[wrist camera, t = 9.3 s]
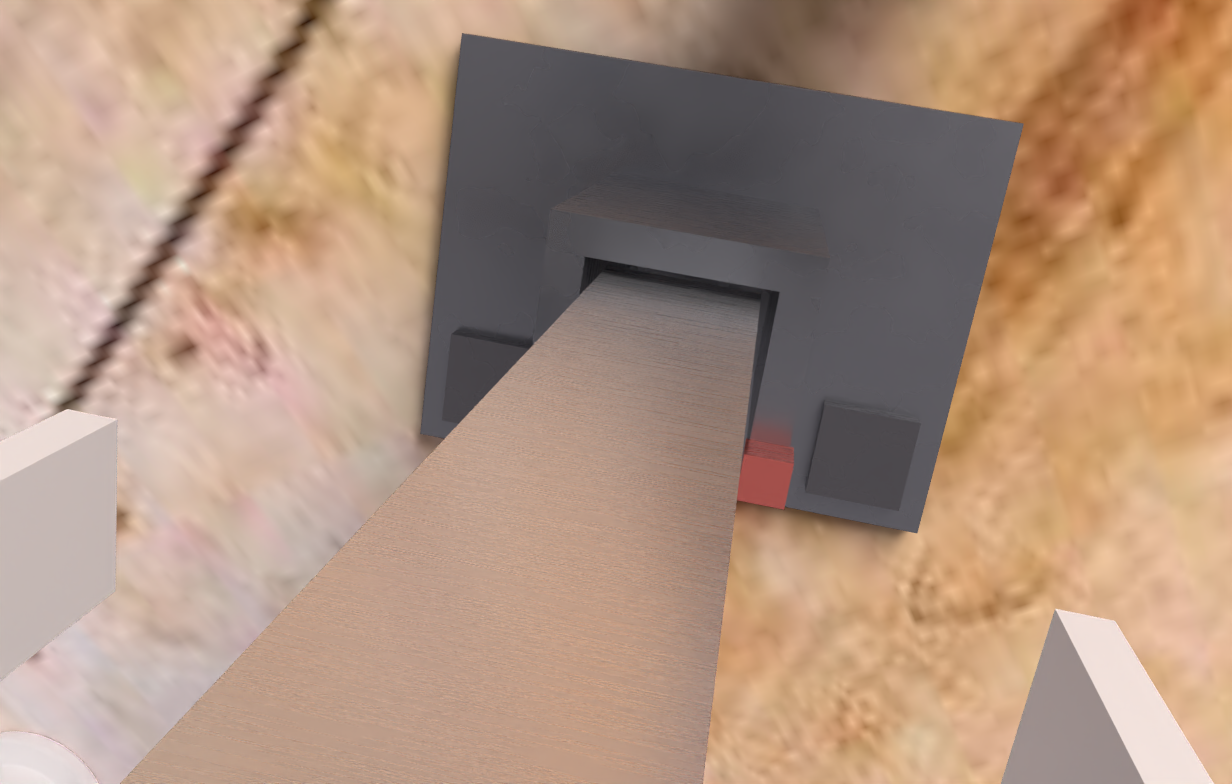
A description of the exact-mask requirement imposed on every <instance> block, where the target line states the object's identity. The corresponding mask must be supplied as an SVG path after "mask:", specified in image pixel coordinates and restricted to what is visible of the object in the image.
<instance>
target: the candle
mask: <svg viewBox="0 0 1232 784" xmlns="http://www.w3.org/2000/svg"><path fill="white" fill-rule="evenodd" d="M0 784H99V783H98V781H97V779H96V778H95V776H94V775H93V773H92V772H91V770H90V769H89V768H88V767H87V766H86V764H85V763H84V762H83V761H82V760H81V759H80V758H79V757H78V756H76V755H75V754H74V753H73V752H71V751H70V750H69V749H67V748H66V747H64V746H63V745H61V744H60V743H58V742H56V741H54V740H52V739H49V738H47V737H44V736H41V735H38V734H34V733H30V732H22V731H8V732H2V733H0Z"/></svg>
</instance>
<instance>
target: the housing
mask: <svg viewBox="0 0 1232 784" xmlns="http://www.w3.org/2000/svg"><path fill="white" fill-rule="evenodd" d="M1022 128H1023V124H1022V123H1017V122H1011V121H1005V120H999V119H992V118H986V117H980V116H974V115H968V114H961V113H955V112H949V111H943V110H937V109H930V108H924V107H918V106H912V105H906V104H899V103H893V102H887V101H881V100H875V99H868V98H862V97H856V96H850V95H844V94H837V93H831V92H825V91H819V90H813V89H806V88H800V87H794V86H788V85H782V84H775V83H769V82H763V81H757V80H751V79H744V78H738V77H732V76H726V75H720V74H713V73H707V72H701V71H695V70H689V69H682V68H676V67H670V66H664V65H658V64H651V63H645V62H639V61H633V60H627V59H620V58H614V57H608V56H602V55H596V54H589V53H583V52H577V51H571V50H565V49H558V48H552V47H546V46H540V45H534V44H527V43H521V42H515V41H509V40H503V39H496V38H490V37H484V36H478V35H472V34H464V33H462V39H461V48H460V58H459V67H458V77H457V87H456V96H455V106H454V116H453V125H452V135H451V145H450V154H449V164H448V173H447V183H446V193H445V202H444V212H443V222H442V231H441V241H440V250H439V260H438V270H437V279H436V289H435V299H434V308H433V318H432V328H431V337H430V347H429V356H428V366H427V376H426V385H425V395H424V405H423V414H422V424H421V433H420V434H425V435H430V436H435V437H440V438H446V437H447V436H448V435H449V434H450V433H451V432H452V430H453V429H454V428H455V427H456V426H457V425H458V424H459V423H460V422H461V421H462V420H463V419H464V418H465V417H466V416H467V415H468V414H469V412H470V411H471V410H472V409H473V408H474V407H475V406H476V405H477V404H478V403H479V402H480V401H481V400H482V399H483V398H484V397H485V395H486V394H487V393H488V392H489V391H490V390H491V389H492V388H493V387H494V386H495V385H496V384H497V383H498V382H499V381H500V380H501V378H502V377H503V376H504V375H505V374H506V373H507V372H508V371H509V370H510V369H511V368H512V367H513V366H514V365H515V364H516V363H517V361H518V360H519V359H520V358H521V357H522V356H523V355H524V354H525V353H526V352H527V351H528V350H529V349H530V348H531V347H532V346H533V344H534V343H535V342H536V341H537V340H538V339H539V338H540V337H541V336H542V335H543V334H544V333H545V332H546V331H547V330H548V329H549V327H550V326H551V325H552V324H553V323H554V322H555V321H556V320H557V319H558V318H559V317H560V316H561V315H562V314H563V313H564V312H565V310H566V309H567V308H568V307H569V306H570V305H571V304H572V303H573V302H574V301H575V300H576V299H577V298H578V297H579V296H580V295H581V294H582V292H583V291H584V290H585V289H586V288H587V287H588V286H589V285H590V284H591V283H592V282H593V281H594V280H595V279H596V278H597V277H598V275H599V274H600V273H601V272H602V271H603V270H604V269H605V268H606V267H607V266H613V267H619V268H624V269H630V270H635V271H641V272H646V273H652V274H657V275H663V276H668V277H674V278H679V279H685V280H690V281H696V282H701V283H707V284H712V285H718V286H723V287H729V288H734V289H740V290H746V291H751V292H757V293H762V294H761V302H760V311H759V319H758V327H757V336H756V344H755V352H754V361H753V369H752V377H751V386H750V394H749V402H748V411H747V419H746V427H745V435H744V444H743V452H742V460H741V469H740V477H739V485H738V494H737V500H739V501H744V502H749V503H753V504H758V505H763V506H768V507H773V508H778V509H783V510H784V508H785V507H789V508H794V509H799V510H804V511H809V512H814V513H819V514H824V515H829V516H834V517H839V518H844V519H848V520H853V521H858V522H863V523H868V524H873V525H878V526H883V527H888V528H893V529H898V530H903V531H908V532H913V533H917V532H918V528H919V524H920V521H921V517H922V513H923V509H924V505H925V501H926V497H927V494H928V490H929V486H930V482H931V478H932V474H933V471H934V467H935V463H936V459H937V455H938V451H939V447H940V444H941V440H942V436H943V432H944V428H945V424H946V421H947V417H948V413H949V409H950V405H951V401H952V397H953V394H954V390H955V386H956V382H957V378H958V374H959V370H960V367H961V363H962V359H963V355H964V351H965V347H966V344H967V340H968V336H969V332H970V328H971V324H972V320H973V317H974V313H975V309H976V305H977V301H978V297H979V294H980V290H981V286H982V282H983V278H984V274H985V270H986V267H987V263H988V259H989V255H990V251H991V247H992V244H993V240H994V236H995V232H996V228H997V224H998V220H999V217H1000V213H1001V209H1002V205H1003V201H1004V197H1005V194H1006V190H1007V186H1008V182H1009V178H1010V174H1011V170H1012V167H1013V163H1014V159H1015V155H1016V151H1017V147H1018V143H1019V140H1020V136H1021V132H1022Z"/></svg>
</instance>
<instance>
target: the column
mask: <svg viewBox="0 0 1232 784" xmlns="http://www.w3.org/2000/svg"><path fill="white" fill-rule="evenodd" d="M761 294H762V293H757V292H751V291H746V290H740V289H734V288H729V287H723V286H718V285H712V284H707V283H701V282H696V281H690V280H685V279H679V278H674V277H668V276H663V275H657V274H652V273H646V272H641V271H635V270H630V269H624V268H619V267H613V266H607V267H606V268H605V269H604V270H603V271H602V272H601V273H600V274H599V275H598V277H597V278H596V279H595V280H594V281H593V282H592V283H591V284H590V285H589V286H588V287H587V288H586V289H585V290H584V291H583V292H582V294H581V295H580V296H579V297H578V298H577V299H576V300H575V301H574V302H573V303H572V304H571V305H570V306H569V307H568V308H567V309H566V310H565V312H564V313H563V314H562V315H561V316H560V317H559V318H558V319H557V320H556V321H555V322H554V323H553V324H552V325H551V326H550V327H549V329H548V330H547V331H546V332H545V333H544V334H543V335H542V336H541V337H540V338H539V339H538V340H537V341H536V342H535V343H534V344H533V346H532V347H531V348H530V349H529V350H528V351H527V352H526V353H525V354H524V355H523V356H522V357H521V358H520V359H519V360H518V361H517V363H516V364H515V365H514V366H513V367H512V368H511V369H510V370H509V371H508V372H507V373H506V374H505V375H504V376H503V377H502V378H501V380H500V381H499V382H498V383H497V384H496V385H495V386H494V387H493V388H492V389H491V390H490V391H489V392H488V393H487V394H486V395H485V397H484V398H483V399H482V400H481V401H480V402H479V403H478V404H477V405H476V406H475V407H474V408H473V409H472V410H471V411H470V412H469V414H468V415H467V416H466V417H465V418H464V419H463V420H462V421H461V422H460V423H459V424H458V425H457V426H456V427H455V428H454V429H453V430H452V432H451V433H450V434H449V435H448V436H447V437H446V438H445V439H444V440H443V441H442V442H441V443H440V444H439V445H438V446H437V447H436V449H435V450H434V451H433V452H432V453H431V454H430V455H429V456H428V457H427V458H426V459H425V460H424V461H423V462H422V463H421V464H420V466H419V467H418V468H417V469H416V470H415V471H414V472H413V473H412V474H411V475H410V476H409V477H408V478H407V479H406V480H405V481H404V483H403V484H402V485H401V486H400V487H399V488H398V489H397V490H396V491H395V492H394V493H393V494H392V495H391V496H390V497H389V498H388V500H387V501H386V502H385V503H384V504H383V505H382V506H381V507H380V508H379V509H378V510H377V511H376V512H375V513H374V514H373V515H372V517H371V518H370V519H369V520H368V521H367V522H366V523H365V524H364V525H363V526H362V527H361V528H360V529H359V530H358V531H357V532H356V533H355V535H354V536H353V537H352V538H351V539H350V540H349V541H348V542H347V543H346V544H345V545H344V546H343V547H342V548H341V549H340V550H339V552H338V553H337V554H336V555H335V556H334V557H333V558H332V559H331V560H330V561H329V562H328V563H327V564H326V565H325V566H324V567H323V569H322V570H321V571H320V572H319V573H318V574H317V575H316V576H315V577H314V578H313V579H312V580H311V581H310V582H309V583H308V584H307V586H306V587H305V588H304V589H303V590H302V591H301V592H300V593H299V594H298V595H297V596H296V597H295V598H294V599H293V600H292V601H291V603H290V604H289V605H288V606H287V607H286V608H285V609H284V610H283V611H282V612H281V613H280V614H279V615H278V616H277V617H276V618H275V620H274V621H273V622H272V623H271V624H270V625H269V626H268V627H267V628H266V629H265V630H264V631H263V632H262V633H261V634H260V635H259V636H258V638H257V639H256V640H255V641H254V642H253V643H252V644H251V645H250V646H249V647H248V648H247V649H246V650H245V651H244V652H243V653H242V655H241V656H240V657H239V658H238V659H237V660H236V661H235V662H234V663H233V664H232V665H231V666H230V667H229V668H228V669H227V670H226V672H225V673H224V674H223V675H222V676H221V677H220V678H219V679H218V680H217V681H216V682H215V683H214V684H213V685H212V686H211V687H210V689H209V690H208V691H207V692H206V693H205V694H204V695H203V696H202V697H201V698H200V699H199V700H198V701H197V702H196V703H195V704H194V706H193V707H192V708H191V709H190V710H189V711H188V712H187V713H186V714H185V715H184V716H183V717H182V718H181V719H180V720H179V721H178V723H177V724H176V725H175V726H174V727H173V728H172V729H171V730H170V731H169V732H168V733H167V734H166V735H165V736H164V737H163V738H162V739H161V741H160V742H159V743H158V744H157V745H156V746H155V747H154V748H153V749H152V750H151V751H150V752H149V753H148V754H147V755H146V756H145V758H144V759H143V760H142V761H141V762H140V763H139V764H138V765H137V766H136V767H135V768H134V769H133V770H132V771H131V772H130V773H129V775H128V776H127V777H126V778H125V779H124V780H123V781H122V782H121V783H120V784H703V777H704V769H705V760H706V752H707V744H708V735H709V727H710V719H711V710H712V702H713V694H714V685H715V677H716V669H717V660H718V652H719V644H720V635H721V627H722V619H723V610H724V602H725V594H726V585H727V577H728V569H729V560H730V552H731V544H732V535H733V527H734V519H735V510H736V502H737V494H738V485H739V477H740V469H741V460H742V452H743V444H744V435H745V427H746V419H747V411H748V402H749V394H750V386H751V377H752V369H753V361H754V352H755V344H756V336H757V327H758V319H759V311H760V302H761Z"/></svg>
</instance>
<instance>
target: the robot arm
mask: <svg viewBox="0 0 1232 784" xmlns="http://www.w3.org/2000/svg"><path fill="white" fill-rule="evenodd" d="M117 421H118V419H113V418H108V417H103V416H99V415H94V414H89V413H84V412H79V411H74V410H69V409H67V410H65V411H63V412H60V413H58V414H56V415H54V416H52V417H50V418H48V419H46V420H44V421H41V422H39V423H37V424H35V425H33V426H31V427H29V428H27V429H25V430H23V431H20V432H18V433H16V434H14V435H12V436H10V437H8V438H6V439H4V440H1V441H0V681H1V680H2V679H4V678H5V677H6V676H7V675H9V674H10V673H11V672H13V671H14V670H15V669H16V668H18V667H19V666H20V665H22V664H23V663H24V662H25V661H27V660H28V659H29V658H30V657H32V656H33V655H34V654H36V653H37V652H38V651H39V650H41V649H42V648H43V647H45V646H46V645H47V644H48V643H50V642H51V641H52V640H54V639H55V638H56V637H57V636H59V635H60V634H61V633H62V632H64V631H65V630H66V629H68V628H69V627H70V626H71V625H73V624H74V623H75V622H77V621H78V620H79V619H80V618H82V617H83V616H84V615H85V614H87V613H88V612H89V611H91V610H92V609H93V608H94V607H96V606H97V605H98V604H100V603H101V602H102V601H103V600H105V599H106V598H107V597H108V596H110V595H111V594H112V593H114V592H115V588H116V504H117ZM1001 784H1214V783H1213V781H1212V780H1211V778H1210V776H1209V775H1208V773H1207V771H1206V770H1205V768H1204V767H1203V765H1202V763H1201V762H1200V760H1199V758H1198V757H1197V755H1196V753H1195V752H1194V750H1193V748H1192V747H1191V745H1190V744H1189V742H1188V740H1187V739H1186V737H1185V735H1184V734H1183V732H1182V730H1181V729H1180V727H1179V725H1178V724H1177V722H1176V720H1175V719H1174V717H1173V716H1172V714H1171V712H1170V711H1169V709H1168V707H1167V706H1166V704H1165V702H1164V701H1163V699H1162V697H1161V696H1160V694H1159V692H1158V691H1157V689H1156V688H1155V686H1154V684H1153V683H1152V681H1151V679H1150V678H1149V676H1148V674H1147V673H1146V671H1145V669H1144V668H1143V666H1142V664H1141V663H1140V661H1139V660H1138V658H1137V656H1136V655H1135V653H1134V651H1133V650H1132V648H1131V646H1130V645H1129V643H1128V641H1127V640H1126V638H1125V637H1124V635H1123V633H1122V632H1121V630H1120V628H1119V627H1118V625H1117V623H1116V622H1115V621H1113V620H1108V619H1103V618H1098V617H1093V616H1088V615H1083V614H1078V613H1074V612H1069V611H1064V610H1059V609H1055V611H1054V614H1053V618H1052V621H1051V624H1050V627H1049V630H1048V634H1047V637H1046V640H1045V643H1044V647H1043V650H1042V653H1041V656H1040V659H1039V663H1038V666H1037V669H1036V672H1035V676H1034V679H1033V682H1032V685H1031V688H1030V692H1029V695H1028V698H1027V701H1026V705H1025V708H1024V711H1023V714H1022V717H1021V721H1020V724H1019V727H1018V730H1017V734H1016V737H1015V740H1014V743H1013V746H1012V750H1011V753H1010V756H1009V759H1008V763H1007V766H1006V769H1005V772H1004V775H1003V779H1002V782H1001Z"/></svg>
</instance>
